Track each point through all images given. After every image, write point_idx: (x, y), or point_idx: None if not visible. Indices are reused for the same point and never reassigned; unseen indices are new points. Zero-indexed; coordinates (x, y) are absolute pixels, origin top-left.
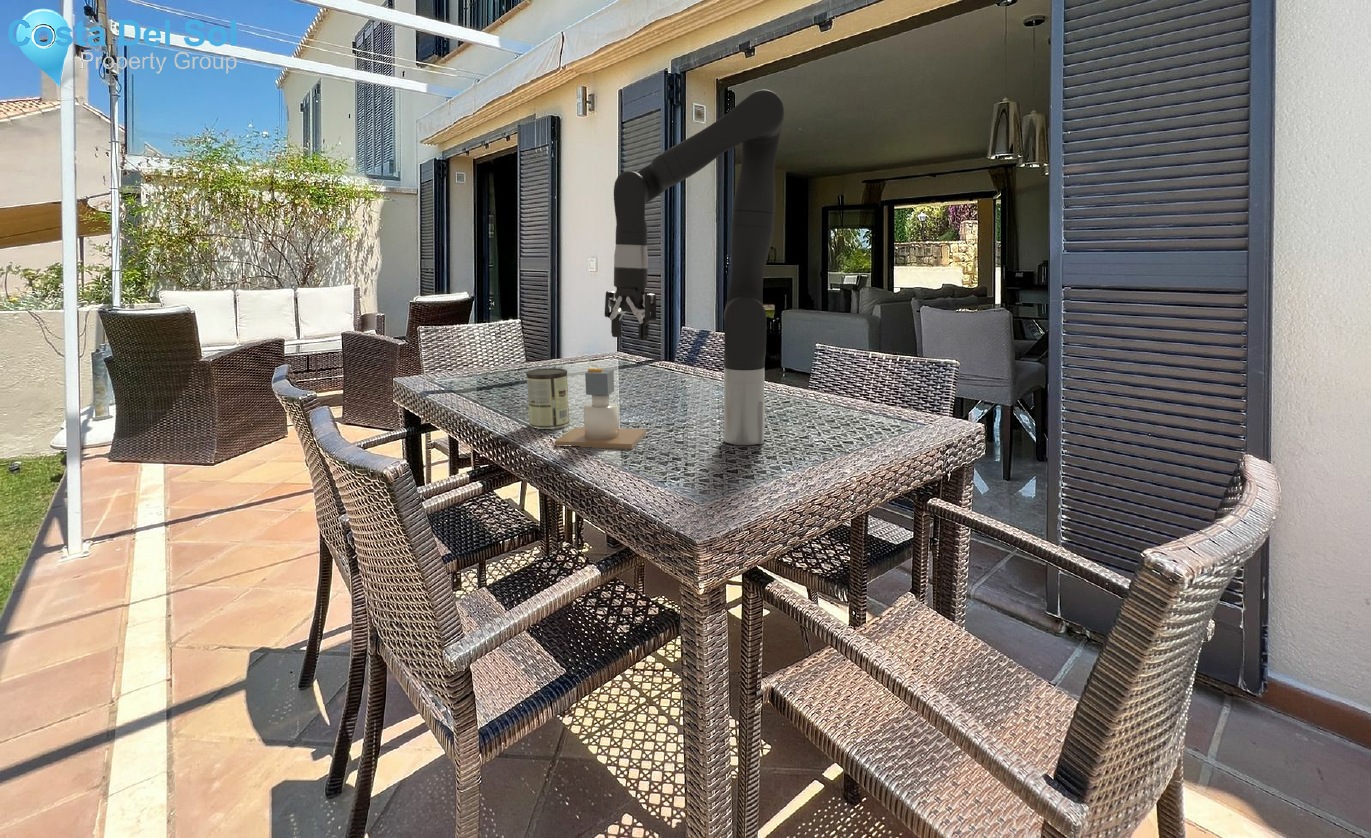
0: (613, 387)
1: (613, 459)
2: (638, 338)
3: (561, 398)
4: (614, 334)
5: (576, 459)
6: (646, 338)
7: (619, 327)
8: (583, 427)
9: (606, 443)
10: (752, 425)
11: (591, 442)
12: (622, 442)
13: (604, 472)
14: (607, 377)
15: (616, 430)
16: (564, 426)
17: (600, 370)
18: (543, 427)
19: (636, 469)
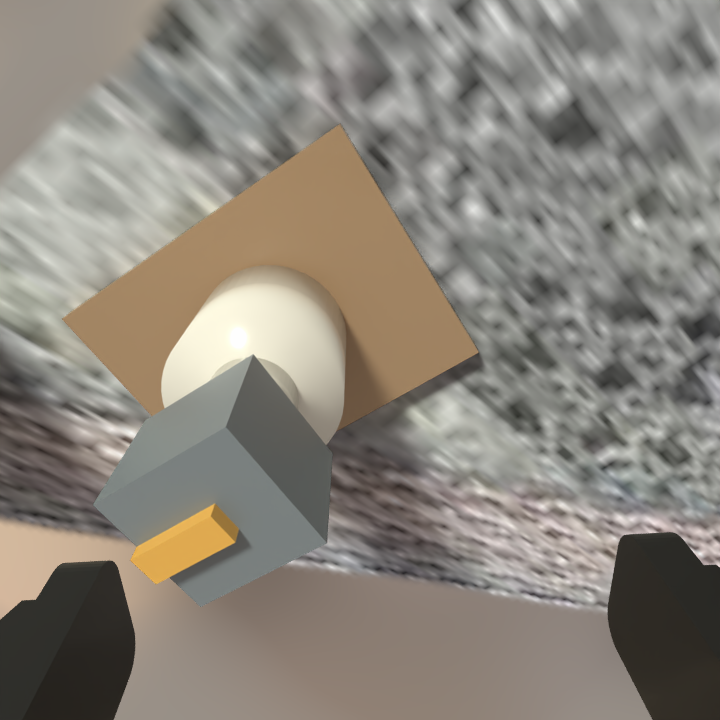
0: (257, 376)
1: (512, 459)
2: (619, 647)
3: None
4: (122, 678)
5: (414, 523)
6: (678, 551)
7: (55, 704)
8: (93, 299)
9: (390, 401)
10: None
11: (338, 429)
12: (432, 359)
13: (583, 548)
14: (326, 521)
15: (342, 325)
16: None
17: (233, 539)
18: None
19: (648, 482)
